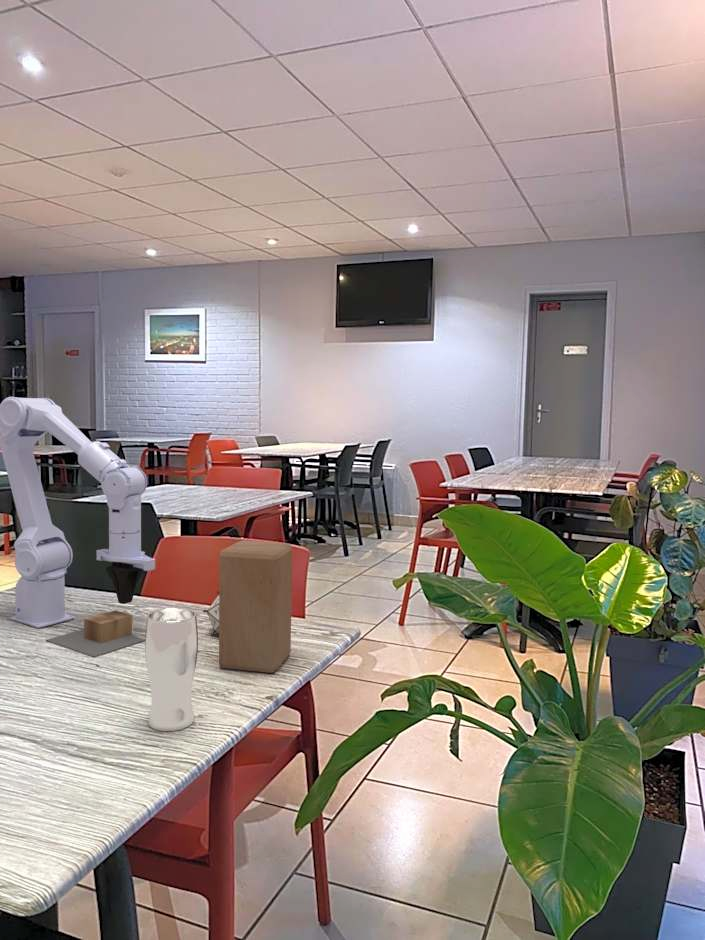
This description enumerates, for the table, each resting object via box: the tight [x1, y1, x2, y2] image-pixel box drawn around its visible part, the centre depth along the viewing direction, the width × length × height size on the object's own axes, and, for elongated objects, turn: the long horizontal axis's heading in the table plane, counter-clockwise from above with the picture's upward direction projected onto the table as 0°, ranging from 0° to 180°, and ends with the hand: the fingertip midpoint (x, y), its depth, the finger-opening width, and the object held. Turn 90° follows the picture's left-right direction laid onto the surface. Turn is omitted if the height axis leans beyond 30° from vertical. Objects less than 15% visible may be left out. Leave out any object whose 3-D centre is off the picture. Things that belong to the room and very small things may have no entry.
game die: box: [202, 589, 219, 636], centre depth 133 cm, size 9×8×10 cm
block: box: [218, 539, 293, 674], centre depth 118 cm, size 10×10×20 cm
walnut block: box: [83, 609, 134, 643], centre depth 130 cm, size 5×4×7 cm
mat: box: [45, 628, 145, 658], centre depth 128 cm, size 14×11×1 cm
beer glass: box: [144, 607, 199, 732], centre depth 95 cm, size 7×7×15 cm
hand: (125, 602), depth 132 cm, fingers closed
